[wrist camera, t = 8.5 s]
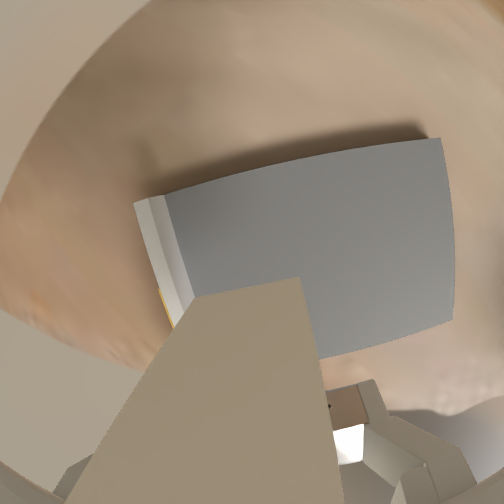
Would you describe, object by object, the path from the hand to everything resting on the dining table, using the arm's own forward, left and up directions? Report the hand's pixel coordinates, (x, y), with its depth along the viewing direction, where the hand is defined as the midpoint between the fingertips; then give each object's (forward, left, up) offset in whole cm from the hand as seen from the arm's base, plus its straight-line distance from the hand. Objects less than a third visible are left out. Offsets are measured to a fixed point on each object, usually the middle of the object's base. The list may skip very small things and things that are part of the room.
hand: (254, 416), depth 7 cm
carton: (0, 0, -4) cm, 4 cm away
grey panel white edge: (0, +4, -13) cm, 13 cm away
